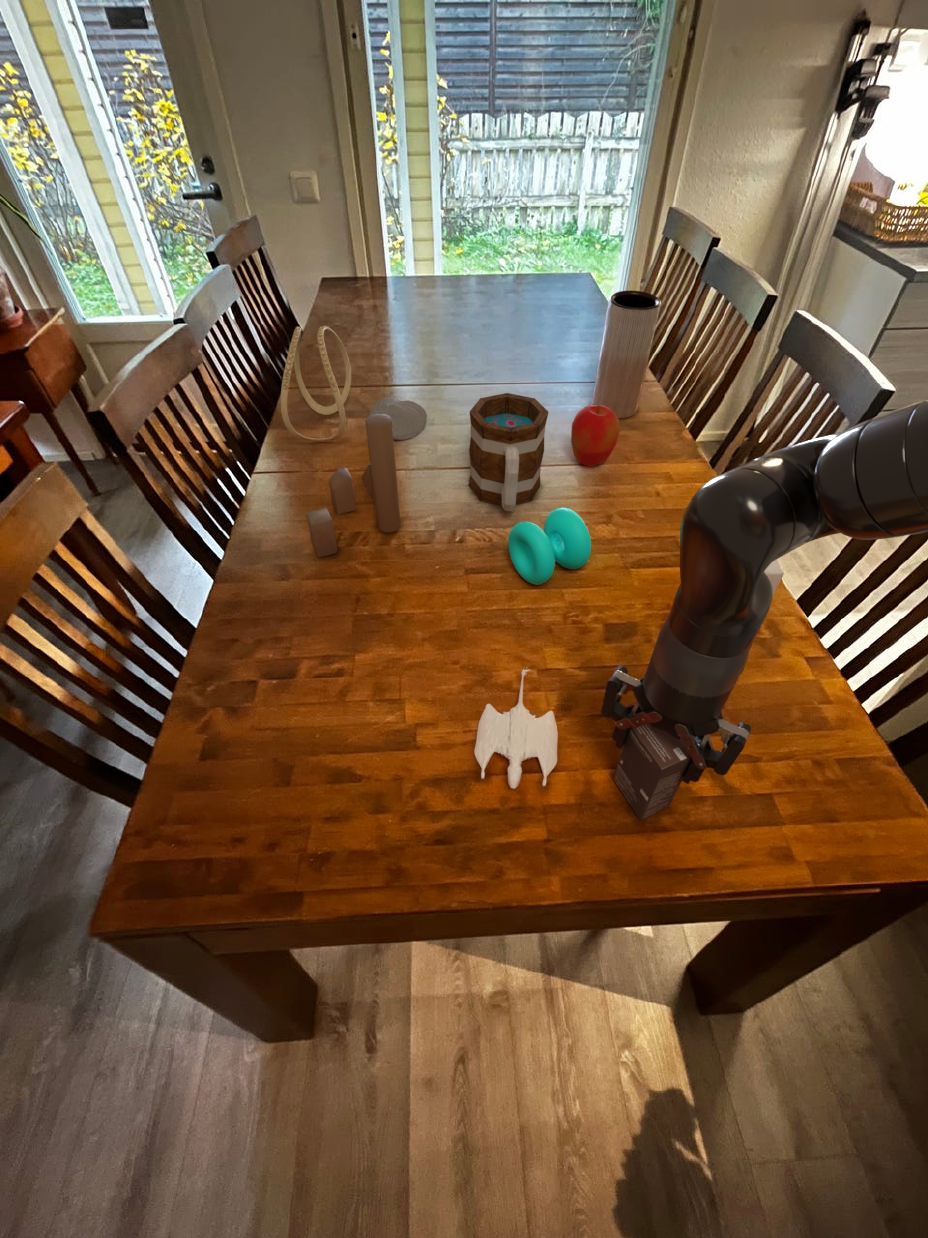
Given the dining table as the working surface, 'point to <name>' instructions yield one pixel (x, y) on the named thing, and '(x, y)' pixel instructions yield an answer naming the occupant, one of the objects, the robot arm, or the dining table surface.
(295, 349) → the beige looped band
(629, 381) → the planter
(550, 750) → the white dragon
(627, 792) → the box
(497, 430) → the mug
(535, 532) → the turquoise yo-yo
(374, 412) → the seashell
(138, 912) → the dining table surface
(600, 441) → the apple
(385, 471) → the wooden blocks
